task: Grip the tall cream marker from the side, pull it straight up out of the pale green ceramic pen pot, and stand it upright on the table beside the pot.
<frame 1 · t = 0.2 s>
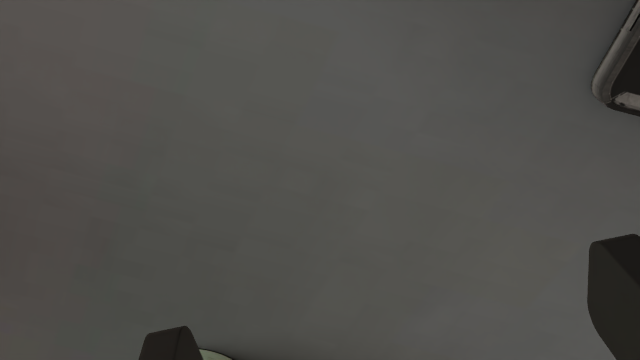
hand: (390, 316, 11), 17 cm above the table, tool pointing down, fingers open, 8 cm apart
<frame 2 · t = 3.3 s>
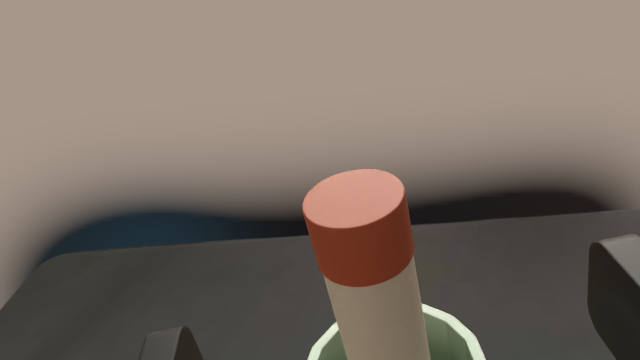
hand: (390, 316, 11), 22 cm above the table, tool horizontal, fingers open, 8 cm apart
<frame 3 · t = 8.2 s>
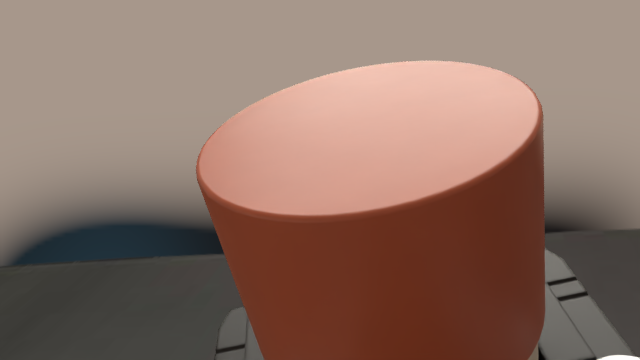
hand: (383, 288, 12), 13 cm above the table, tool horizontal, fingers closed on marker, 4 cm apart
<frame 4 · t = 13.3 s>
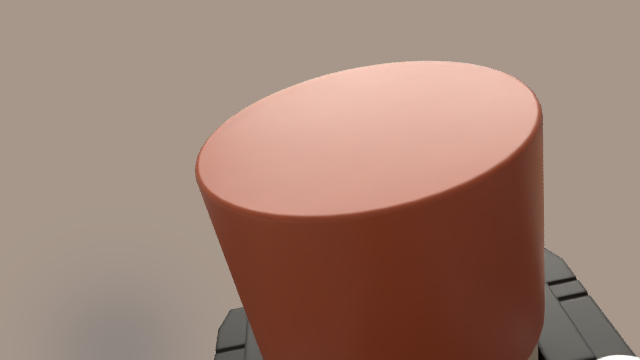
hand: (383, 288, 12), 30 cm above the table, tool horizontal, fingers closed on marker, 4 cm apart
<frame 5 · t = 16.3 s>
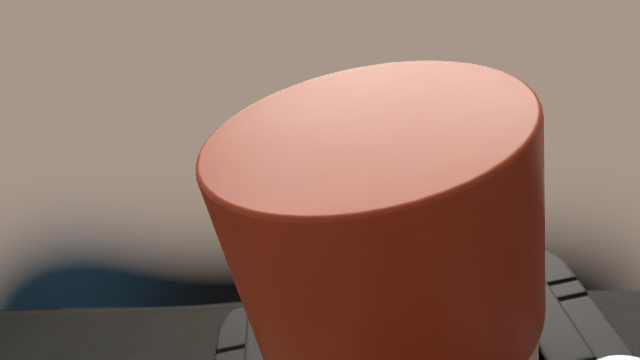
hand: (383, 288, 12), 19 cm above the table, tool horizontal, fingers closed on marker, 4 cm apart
when the fingers open (13 cm above the table, at t = 18.5 s): marker stays where it is, on the table.
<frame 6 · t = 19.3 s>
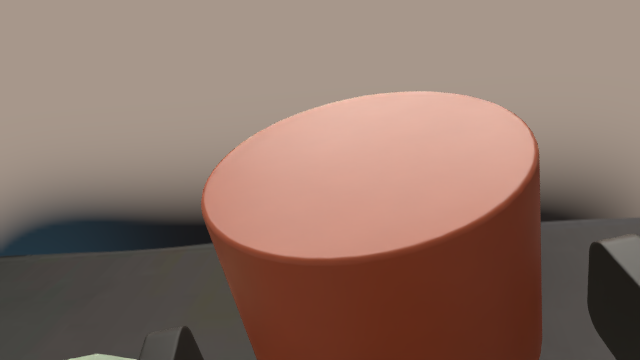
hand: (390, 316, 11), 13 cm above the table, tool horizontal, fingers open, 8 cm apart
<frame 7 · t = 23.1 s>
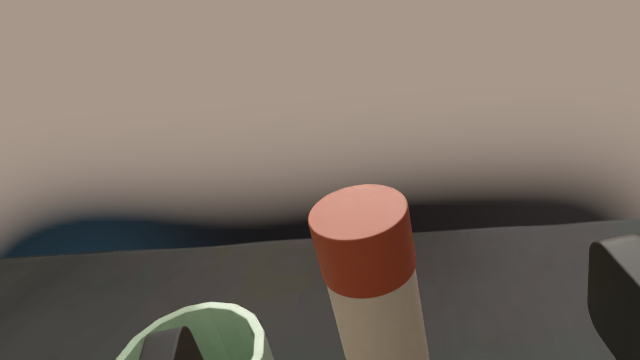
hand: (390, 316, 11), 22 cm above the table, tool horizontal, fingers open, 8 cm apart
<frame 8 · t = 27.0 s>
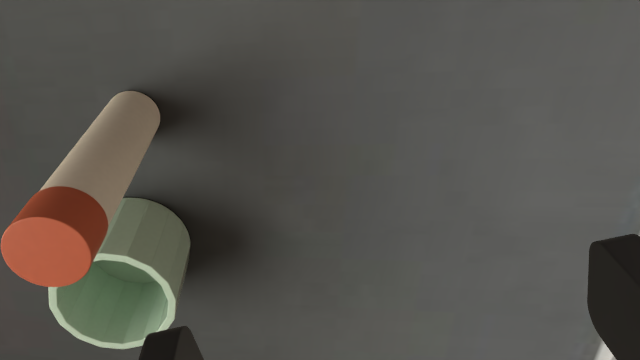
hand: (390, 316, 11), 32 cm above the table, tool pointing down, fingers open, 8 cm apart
pen pot: (137, 242, 48), on the table
marker: (134, 115, 42), on the table
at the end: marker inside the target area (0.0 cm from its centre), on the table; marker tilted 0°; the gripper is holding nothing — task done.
